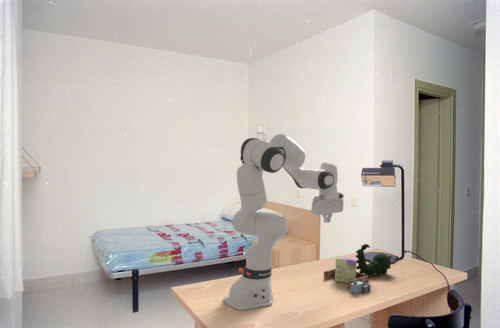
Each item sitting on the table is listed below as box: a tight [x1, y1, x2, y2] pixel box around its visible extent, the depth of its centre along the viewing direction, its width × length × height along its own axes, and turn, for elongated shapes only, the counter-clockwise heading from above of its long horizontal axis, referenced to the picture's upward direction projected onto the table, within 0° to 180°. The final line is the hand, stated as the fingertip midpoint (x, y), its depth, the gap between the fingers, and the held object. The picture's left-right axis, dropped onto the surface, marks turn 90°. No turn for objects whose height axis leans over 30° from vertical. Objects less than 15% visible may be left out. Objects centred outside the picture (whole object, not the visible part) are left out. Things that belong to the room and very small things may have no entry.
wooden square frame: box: [323, 268, 369, 290], centre depth 181 cm, size 14×17×4 cm
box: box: [334, 255, 358, 284], centre depth 182 cm, size 10×6×12 cm, turn 75°
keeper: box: [360, 281, 371, 294], centre depth 170 cm, size 5×6×3 cm
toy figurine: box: [355, 243, 393, 278], centre depth 192 cm, size 9×19×25 cm
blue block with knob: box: [349, 281, 364, 295], centre depth 168 cm, size 6×3×5 cm, turn 126°
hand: (327, 222), depth 177 cm, fingers closed
